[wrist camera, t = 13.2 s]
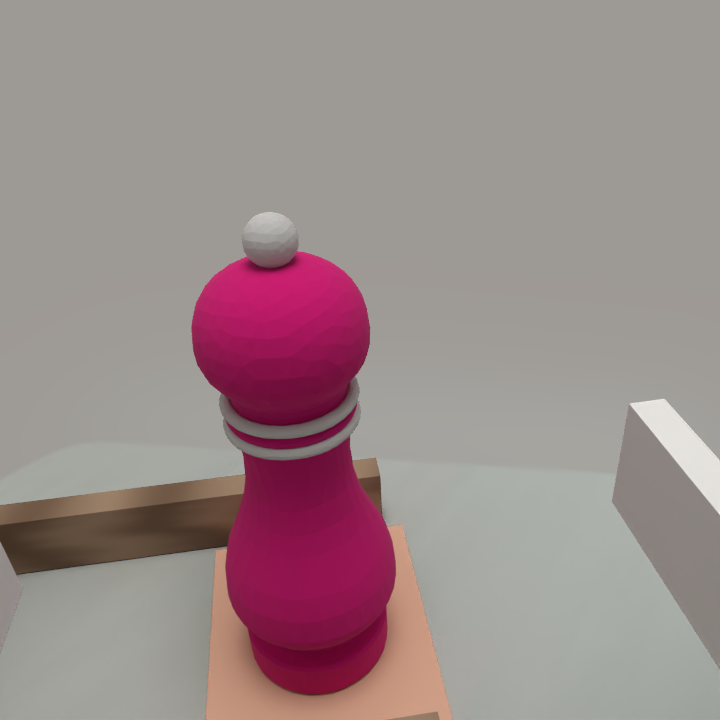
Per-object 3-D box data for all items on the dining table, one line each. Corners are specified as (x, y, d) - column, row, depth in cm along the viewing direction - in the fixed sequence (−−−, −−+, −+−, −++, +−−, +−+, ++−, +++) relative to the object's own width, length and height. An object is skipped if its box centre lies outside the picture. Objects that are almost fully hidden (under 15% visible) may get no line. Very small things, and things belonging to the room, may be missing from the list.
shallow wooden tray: (378, 505, 39) (375, 457, 37) (446, 805, 25) (447, 752, 23) (-25, 559, 37) (-49, 511, 35) (-186, 915, 23) (-238, 867, 21)
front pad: (402, 528, 37) (402, 524, 37) (458, 747, 27) (458, 743, 27) (216, 553, 36) (215, 550, 36) (203, 789, 26) (201, 785, 26)
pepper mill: (214, 621, 32) (113, 212, 22) (340, 549, 36) (304, 166, 25) (292, 742, 27) (210, 283, 17) (431, 644, 31) (433, 214, 20)
